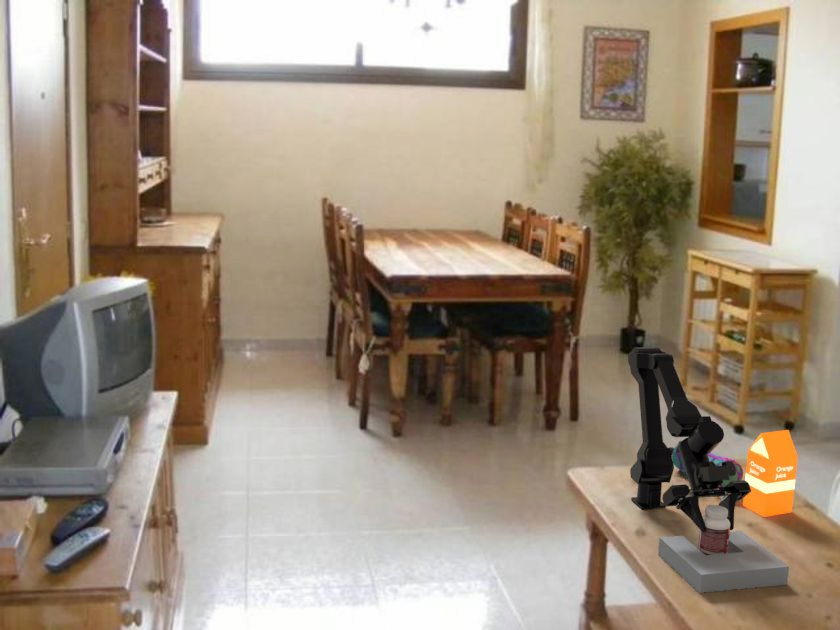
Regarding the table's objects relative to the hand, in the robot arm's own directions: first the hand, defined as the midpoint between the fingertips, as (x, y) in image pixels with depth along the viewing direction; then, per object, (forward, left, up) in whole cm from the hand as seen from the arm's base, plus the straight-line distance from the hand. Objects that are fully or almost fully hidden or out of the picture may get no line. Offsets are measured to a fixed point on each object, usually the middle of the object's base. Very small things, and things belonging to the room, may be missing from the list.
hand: (718, 530), depth 211 cm
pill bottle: (-1, 0, -7) cm, 7 cm away
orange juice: (-26, +29, -8) cm, 40 cm away
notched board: (+2, 0, -8) cm, 8 cm away
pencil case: (-46, +23, -8) cm, 52 cm away
